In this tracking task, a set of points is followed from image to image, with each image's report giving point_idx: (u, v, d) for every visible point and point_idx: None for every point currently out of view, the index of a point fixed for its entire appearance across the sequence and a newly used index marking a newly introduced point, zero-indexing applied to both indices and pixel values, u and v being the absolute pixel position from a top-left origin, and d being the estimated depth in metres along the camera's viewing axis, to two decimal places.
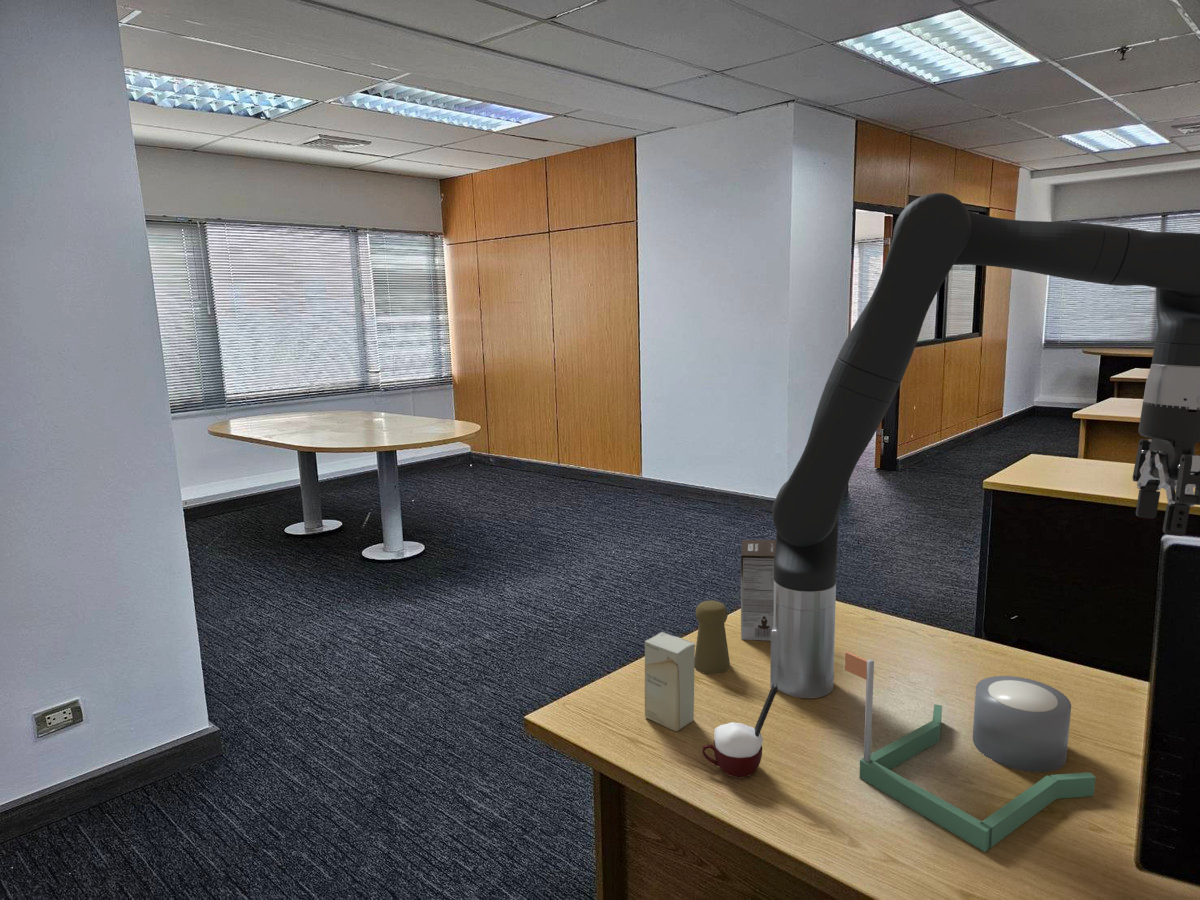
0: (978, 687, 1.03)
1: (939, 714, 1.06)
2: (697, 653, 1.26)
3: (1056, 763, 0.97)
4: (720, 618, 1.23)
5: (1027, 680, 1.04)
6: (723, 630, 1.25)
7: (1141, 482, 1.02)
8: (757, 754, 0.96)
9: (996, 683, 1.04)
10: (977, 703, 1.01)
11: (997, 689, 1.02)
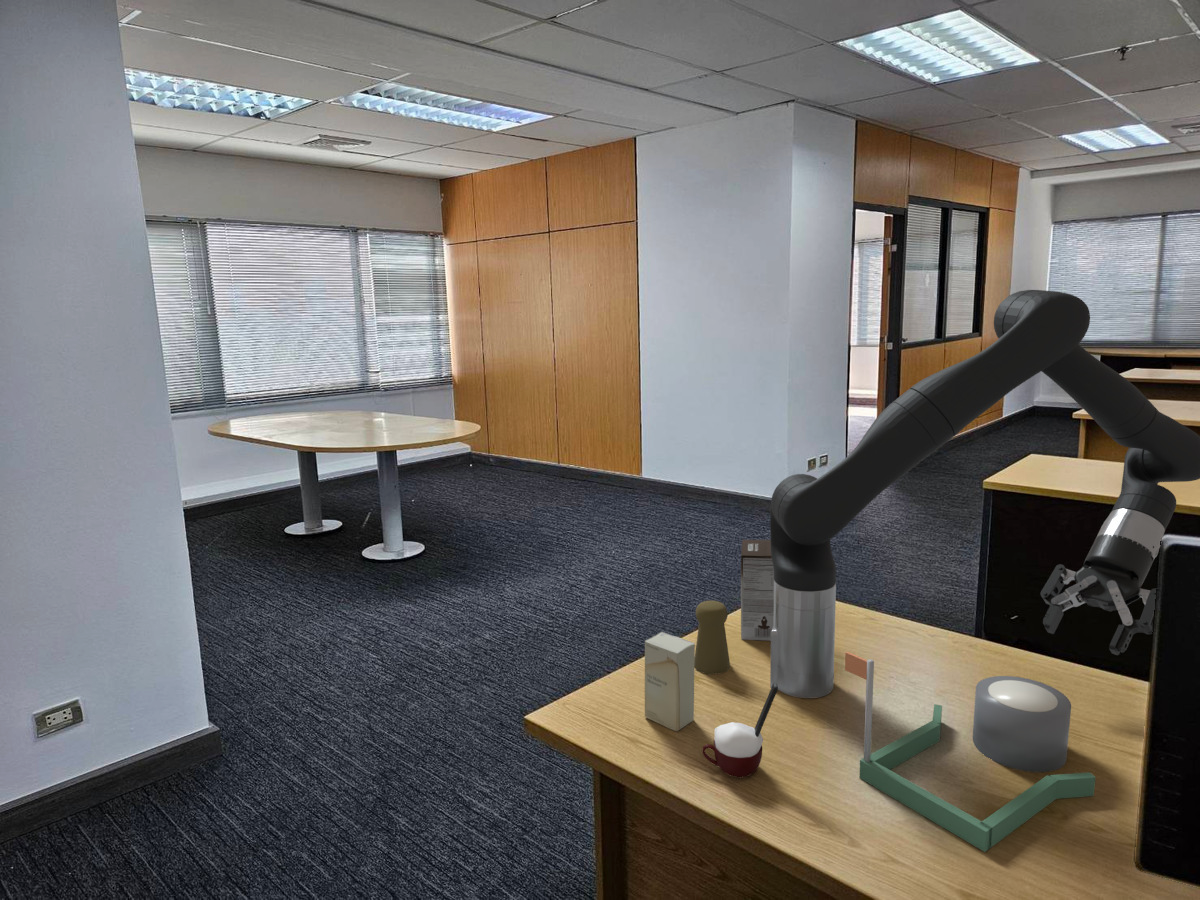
0: (978, 687, 1.03)
1: (939, 714, 1.06)
2: (697, 653, 1.26)
3: (1056, 763, 0.97)
4: (720, 618, 1.23)
5: (1027, 680, 1.04)
6: (723, 630, 1.25)
7: (1061, 599, 1.12)
8: (757, 754, 0.96)
9: (996, 683, 1.04)
10: (977, 703, 1.01)
11: (997, 689, 1.02)
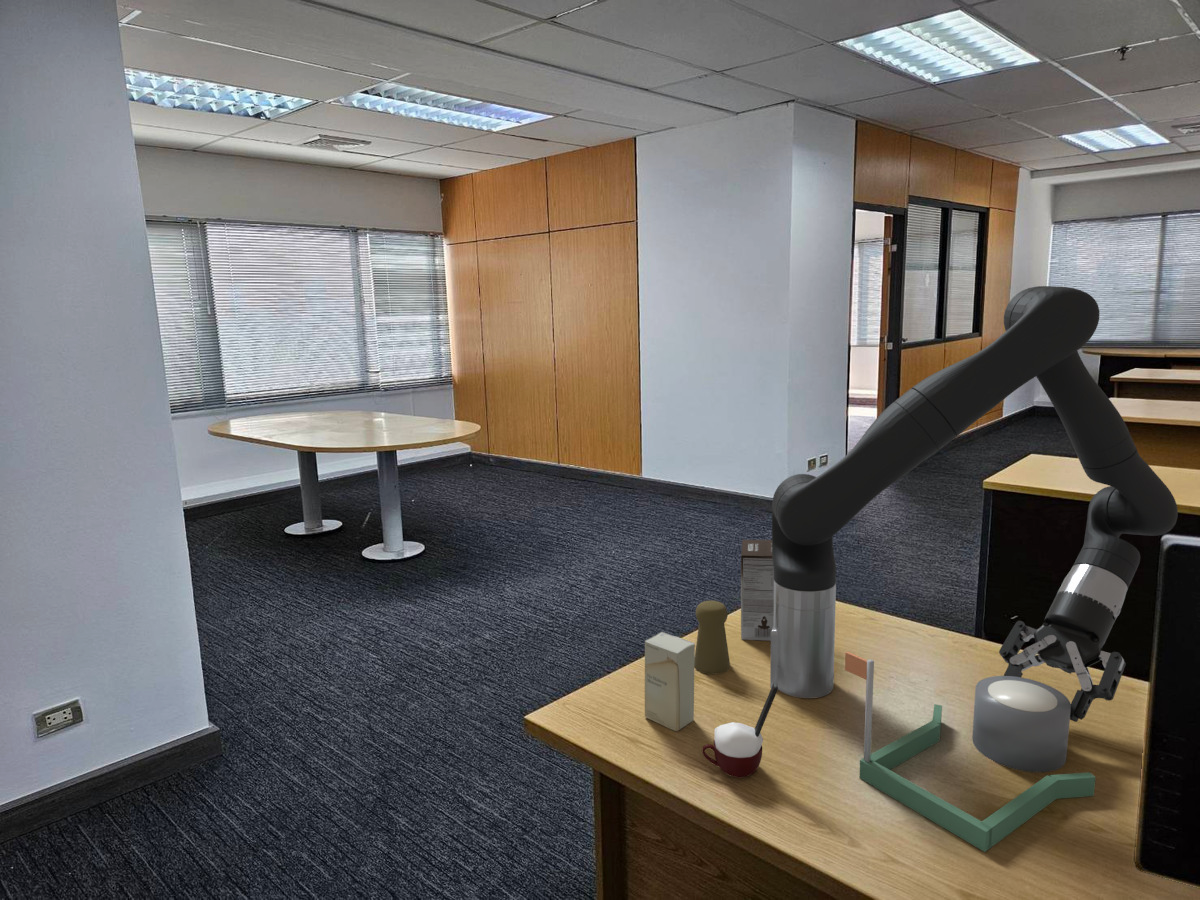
0: (978, 687, 1.03)
1: (939, 714, 1.06)
2: (697, 653, 1.26)
3: (1056, 763, 0.97)
4: (720, 618, 1.23)
5: (1027, 680, 1.04)
6: (723, 630, 1.25)
7: (1020, 659, 1.07)
8: (757, 754, 0.96)
9: (996, 683, 1.04)
10: (977, 703, 1.01)
11: (997, 689, 1.02)
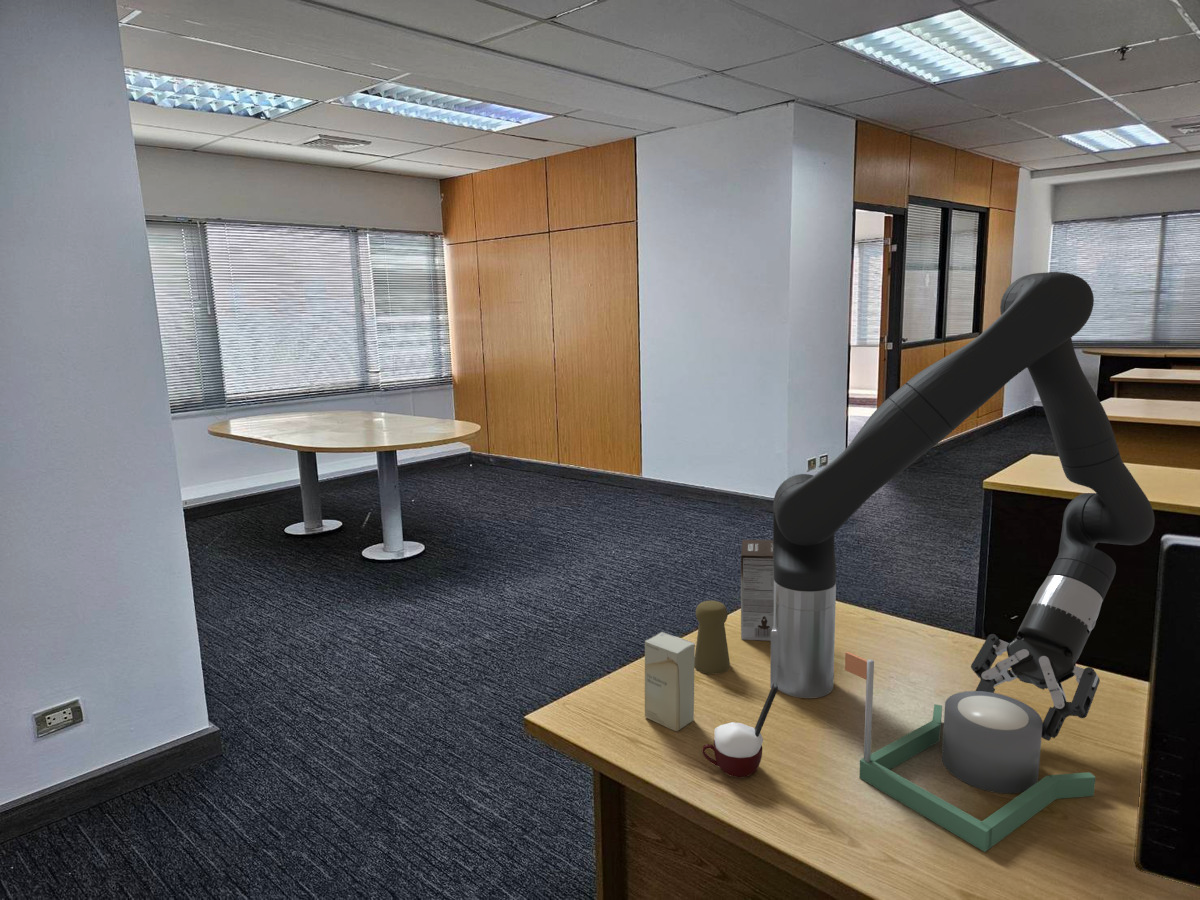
0: (947, 703, 0.99)
1: (939, 714, 1.06)
2: (697, 653, 1.26)
3: (1026, 783, 0.93)
4: (720, 618, 1.23)
5: (999, 696, 1.00)
6: (723, 630, 1.25)
7: (992, 674, 1.03)
8: (757, 754, 0.96)
9: (966, 699, 1.00)
10: (946, 720, 0.98)
11: (967, 705, 0.98)
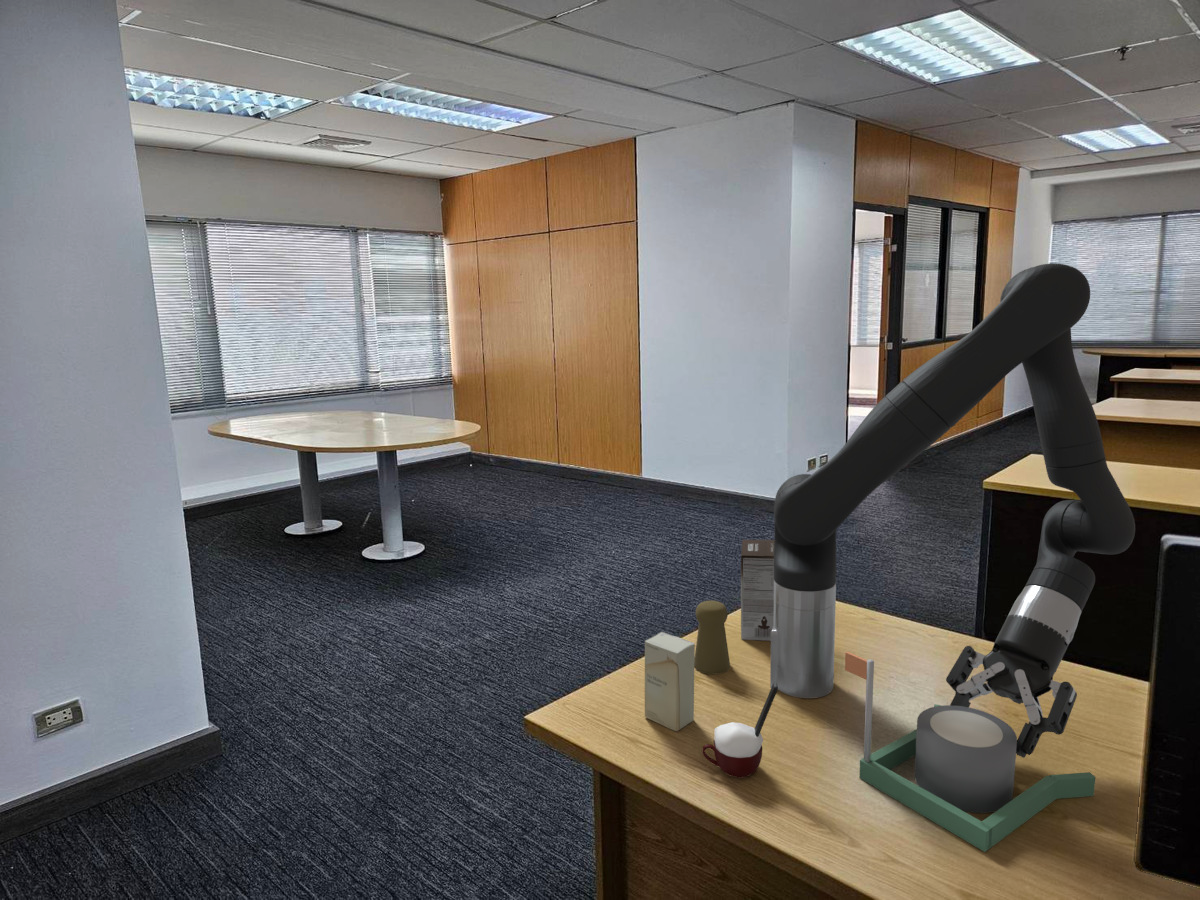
0: (920, 718, 0.96)
1: None
2: (697, 653, 1.26)
3: (999, 803, 0.89)
4: (720, 618, 1.23)
5: (974, 710, 0.97)
6: (723, 630, 1.25)
7: (967, 688, 1.00)
8: (757, 754, 0.96)
9: (940, 714, 0.96)
10: (918, 735, 0.94)
11: (940, 720, 0.95)
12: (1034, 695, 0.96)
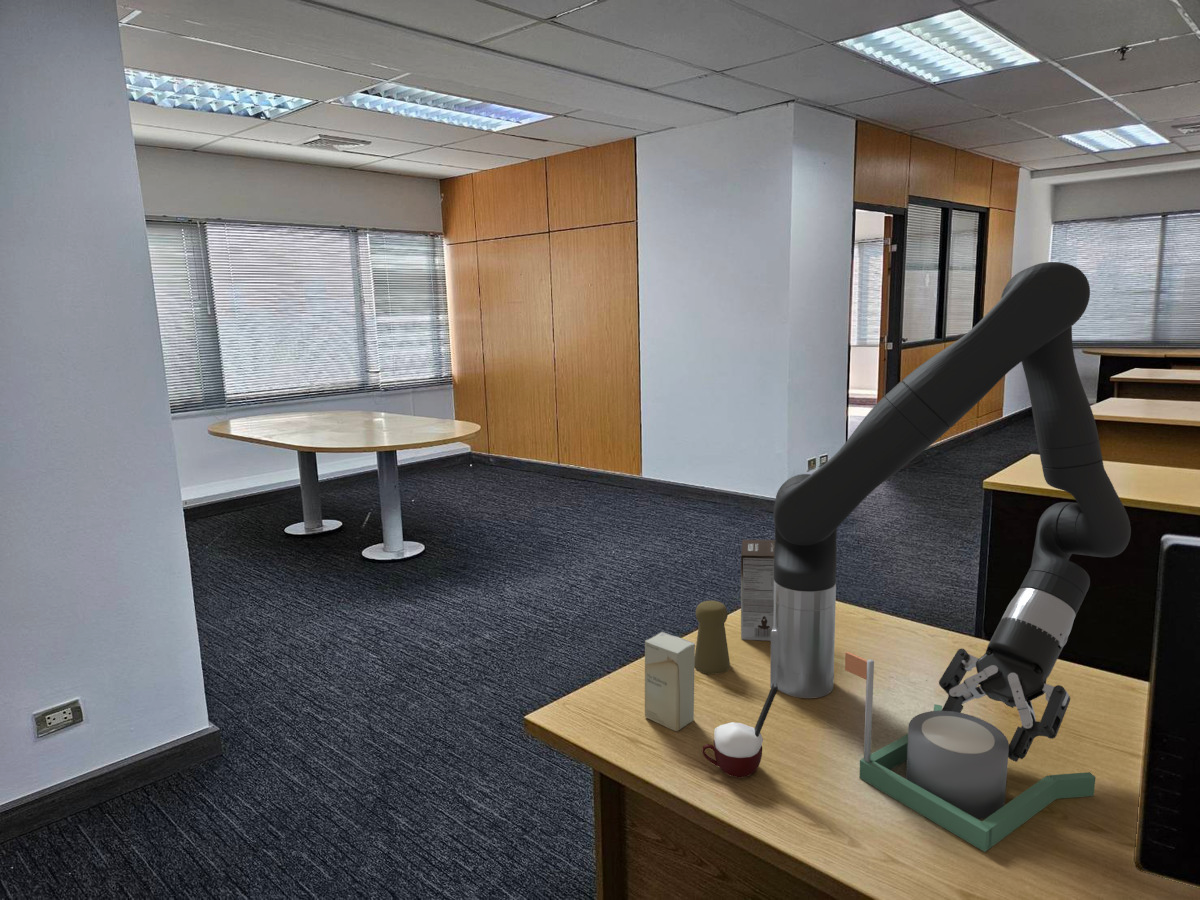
0: (911, 723, 0.95)
1: None
2: (697, 653, 1.26)
3: (991, 810, 0.89)
4: (720, 618, 1.23)
5: (966, 716, 0.96)
6: (723, 630, 1.25)
7: (960, 691, 0.99)
8: (757, 754, 0.96)
9: (932, 719, 0.95)
10: (909, 741, 0.94)
11: (931, 726, 0.94)
12: (1027, 699, 0.95)
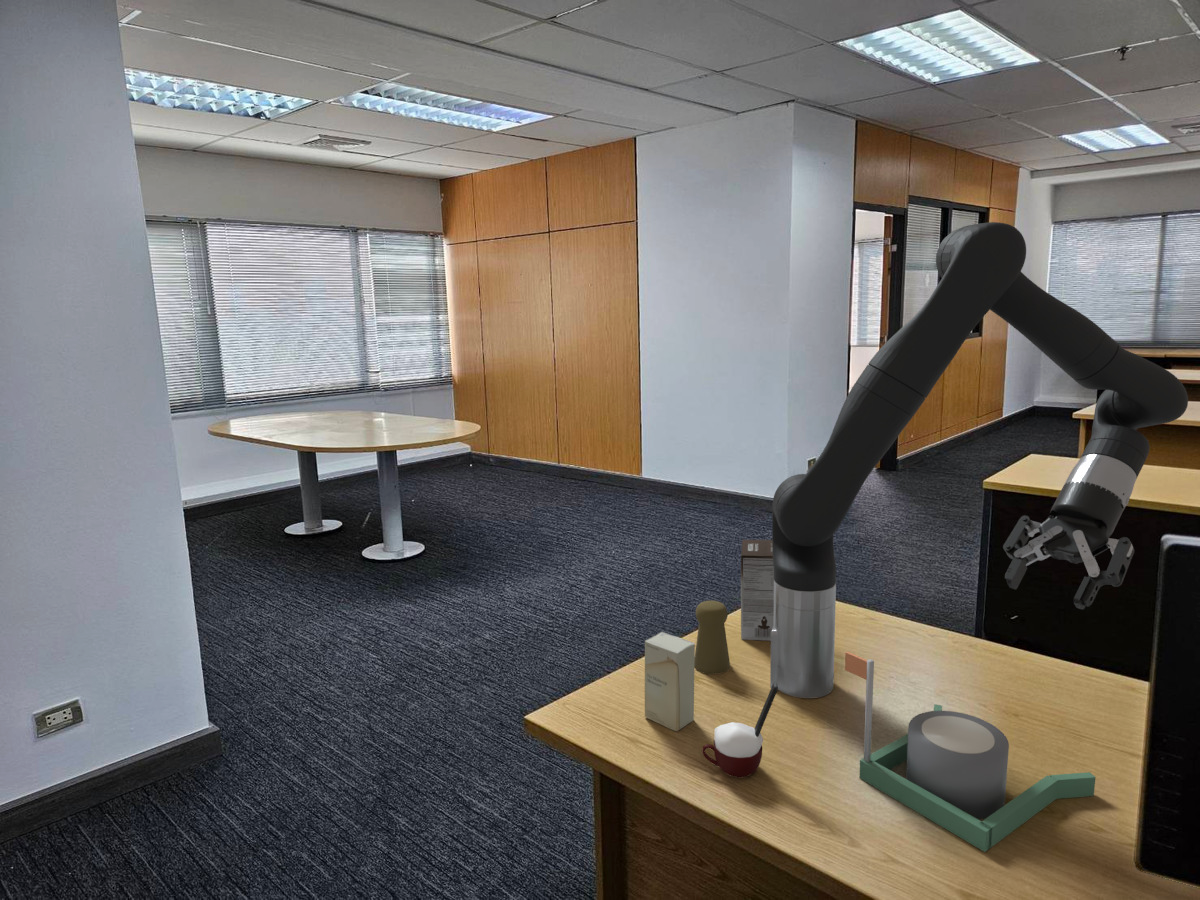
0: (911, 723, 0.95)
1: None
2: (697, 653, 1.26)
3: (991, 810, 0.89)
4: (720, 618, 1.23)
5: (966, 716, 0.96)
6: (723, 630, 1.25)
7: (1024, 552, 1.04)
8: (757, 754, 0.96)
9: (932, 719, 0.95)
10: (909, 741, 0.94)
11: (931, 726, 0.94)
12: (1092, 554, 0.99)
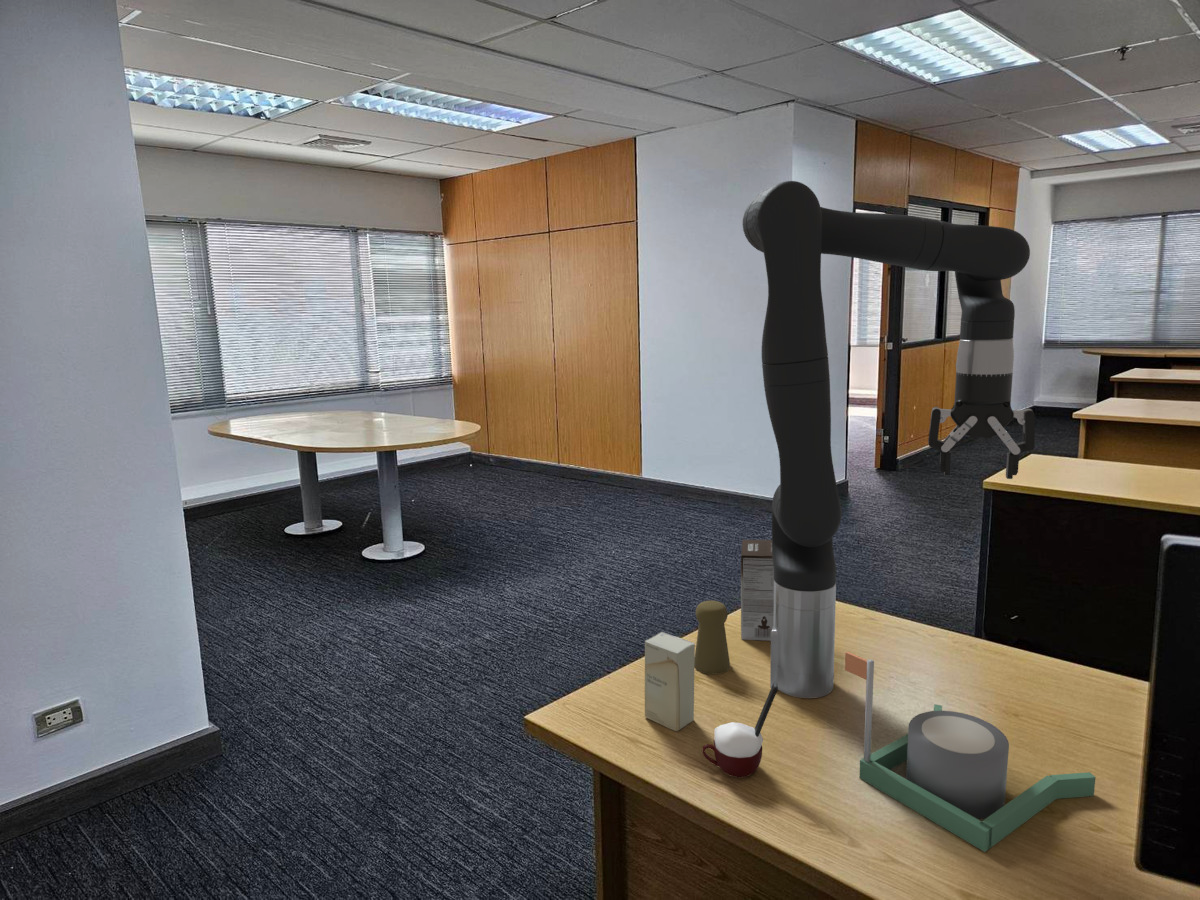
0: (911, 723, 0.95)
1: None
2: (697, 653, 1.26)
3: (991, 810, 0.89)
4: (720, 618, 1.23)
5: (966, 716, 0.96)
6: (723, 630, 1.25)
7: (950, 445, 1.16)
8: (757, 754, 0.96)
9: (932, 719, 0.95)
10: (909, 741, 0.93)
11: (931, 726, 0.94)
12: None
